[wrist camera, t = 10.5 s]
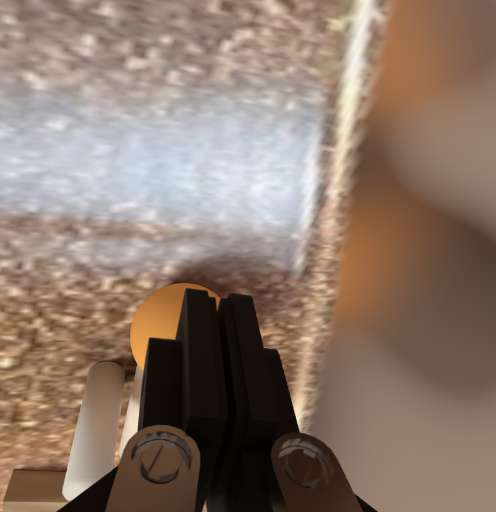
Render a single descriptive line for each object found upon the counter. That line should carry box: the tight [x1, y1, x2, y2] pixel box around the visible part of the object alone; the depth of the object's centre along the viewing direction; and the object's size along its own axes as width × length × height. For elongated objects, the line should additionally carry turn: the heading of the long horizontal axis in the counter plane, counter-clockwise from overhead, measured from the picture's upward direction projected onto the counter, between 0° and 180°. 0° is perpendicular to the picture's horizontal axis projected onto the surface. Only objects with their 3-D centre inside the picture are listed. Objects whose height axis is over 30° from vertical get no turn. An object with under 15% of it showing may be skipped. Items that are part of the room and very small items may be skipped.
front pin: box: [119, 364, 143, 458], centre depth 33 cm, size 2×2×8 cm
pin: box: [62, 361, 125, 501], centre depth 29 cm, size 2×2×8 cm
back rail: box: [3, 470, 207, 512], centre depth 37 cm, size 2×18×2 cm, turn 77°
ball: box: [130, 283, 221, 371], centre depth 27 cm, size 6×6×6 cm
